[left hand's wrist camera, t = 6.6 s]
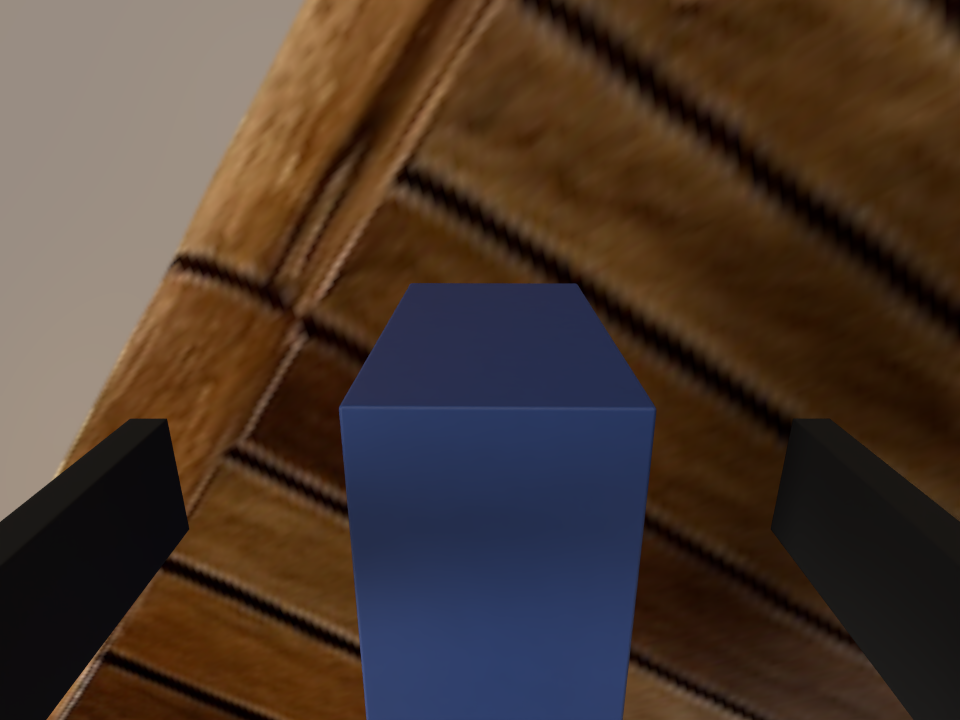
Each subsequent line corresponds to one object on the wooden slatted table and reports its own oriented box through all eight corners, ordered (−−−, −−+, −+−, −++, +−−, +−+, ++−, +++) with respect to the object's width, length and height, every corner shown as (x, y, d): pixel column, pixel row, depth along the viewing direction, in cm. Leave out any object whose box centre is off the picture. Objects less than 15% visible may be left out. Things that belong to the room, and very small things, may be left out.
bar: (410, 282, 17) (337, 406, 9) (577, 283, 17) (657, 407, 9) (432, 813, 25) (403, 1141, 17) (547, 815, 25) (577, 1145, 17)
